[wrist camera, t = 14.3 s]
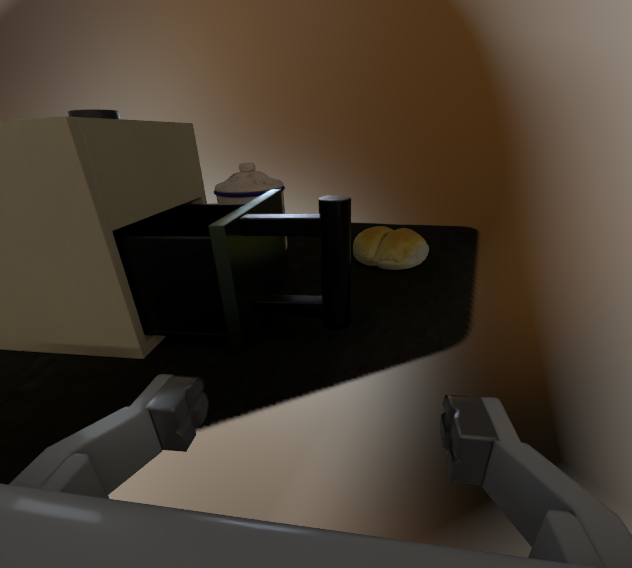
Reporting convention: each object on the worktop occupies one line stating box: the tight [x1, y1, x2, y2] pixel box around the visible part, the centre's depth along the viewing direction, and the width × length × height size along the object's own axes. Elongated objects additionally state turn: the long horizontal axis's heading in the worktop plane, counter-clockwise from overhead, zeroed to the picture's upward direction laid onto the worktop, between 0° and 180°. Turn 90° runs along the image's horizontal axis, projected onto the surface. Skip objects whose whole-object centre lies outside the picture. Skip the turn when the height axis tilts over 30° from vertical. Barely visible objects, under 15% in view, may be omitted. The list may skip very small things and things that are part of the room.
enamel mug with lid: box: [214, 163, 287, 249], centre depth 45 cm, size 12×9×12 cm
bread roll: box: [353, 226, 429, 270], centre depth 40 cm, size 8×9×4 cm
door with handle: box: [112, 189, 351, 351], centre depth 27 cm, size 21×14×10 cm, turn 81°
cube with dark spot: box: [0, 110, 207, 359], centre depth 28 cm, size 14×14×17 cm
